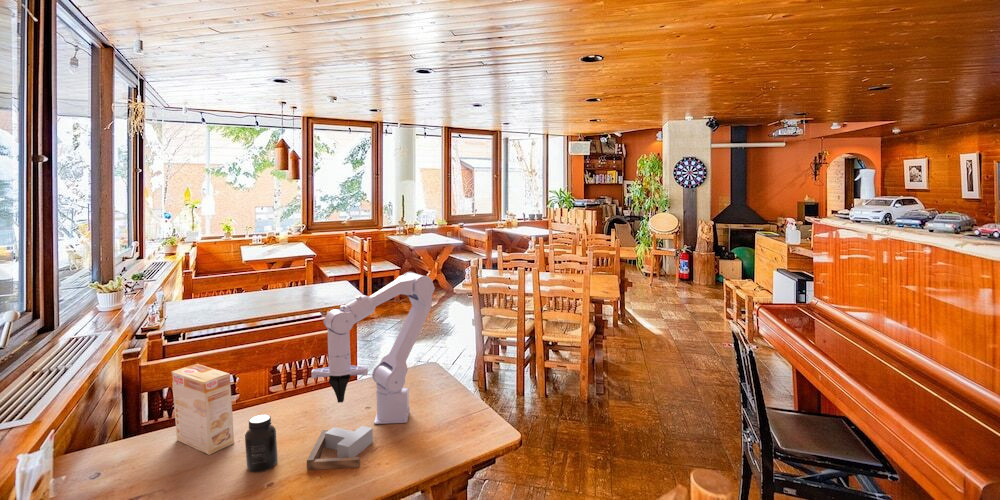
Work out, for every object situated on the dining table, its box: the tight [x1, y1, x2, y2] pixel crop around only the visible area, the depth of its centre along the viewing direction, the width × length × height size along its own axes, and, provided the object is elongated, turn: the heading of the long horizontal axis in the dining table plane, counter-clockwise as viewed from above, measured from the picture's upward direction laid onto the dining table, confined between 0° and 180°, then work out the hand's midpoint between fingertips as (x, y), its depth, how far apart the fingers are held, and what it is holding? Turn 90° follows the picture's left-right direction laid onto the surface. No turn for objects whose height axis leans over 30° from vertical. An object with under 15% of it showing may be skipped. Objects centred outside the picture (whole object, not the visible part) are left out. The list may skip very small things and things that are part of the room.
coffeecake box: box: [170, 363, 235, 456], centre depth 126 cm, size 15×7×20 cm, turn 62°
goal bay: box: [306, 429, 361, 471], centre depth 123 cm, size 12×14×2 cm
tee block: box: [324, 425, 374, 458], centre depth 125 cm, size 10×10×4 cm
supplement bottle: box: [244, 413, 278, 473], centre depth 116 cm, size 7×7×12 cm
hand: (340, 400), depth 131 cm, fingers closed
